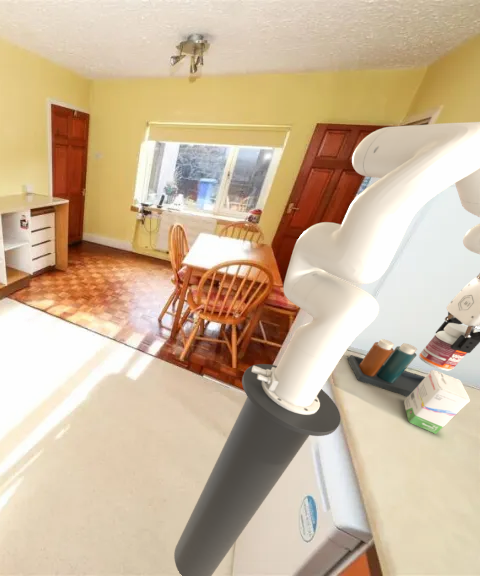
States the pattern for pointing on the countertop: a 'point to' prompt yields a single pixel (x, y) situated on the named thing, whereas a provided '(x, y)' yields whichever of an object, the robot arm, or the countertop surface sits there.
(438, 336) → the pill bottle
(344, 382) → the countertop surface
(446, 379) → the ink box
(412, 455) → the countertop surface
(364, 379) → the tray
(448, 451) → the countertop surface
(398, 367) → the teal bottle
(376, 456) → the countertop surface
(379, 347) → the amber bottle
